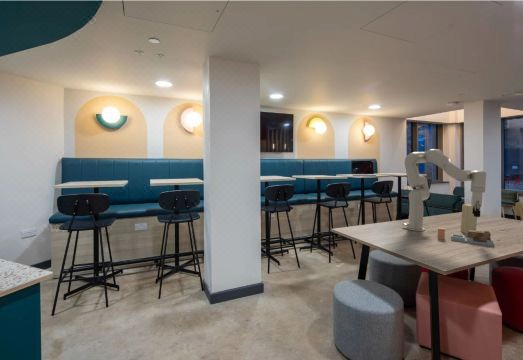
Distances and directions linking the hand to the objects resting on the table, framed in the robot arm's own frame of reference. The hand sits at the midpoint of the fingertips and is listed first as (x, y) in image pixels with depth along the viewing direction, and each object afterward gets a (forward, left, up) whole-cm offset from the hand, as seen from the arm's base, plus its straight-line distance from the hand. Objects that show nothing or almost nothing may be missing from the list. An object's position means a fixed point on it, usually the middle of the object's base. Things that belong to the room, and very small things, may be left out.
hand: (476, 215), depth 184 cm
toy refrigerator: (-2, +25, -18) cm, 31 cm away
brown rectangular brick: (-19, -2, -18) cm, 26 cm away
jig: (-2, 0, -18) cm, 18 cm away
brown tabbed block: (+2, +1, -17) cm, 17 cm away
